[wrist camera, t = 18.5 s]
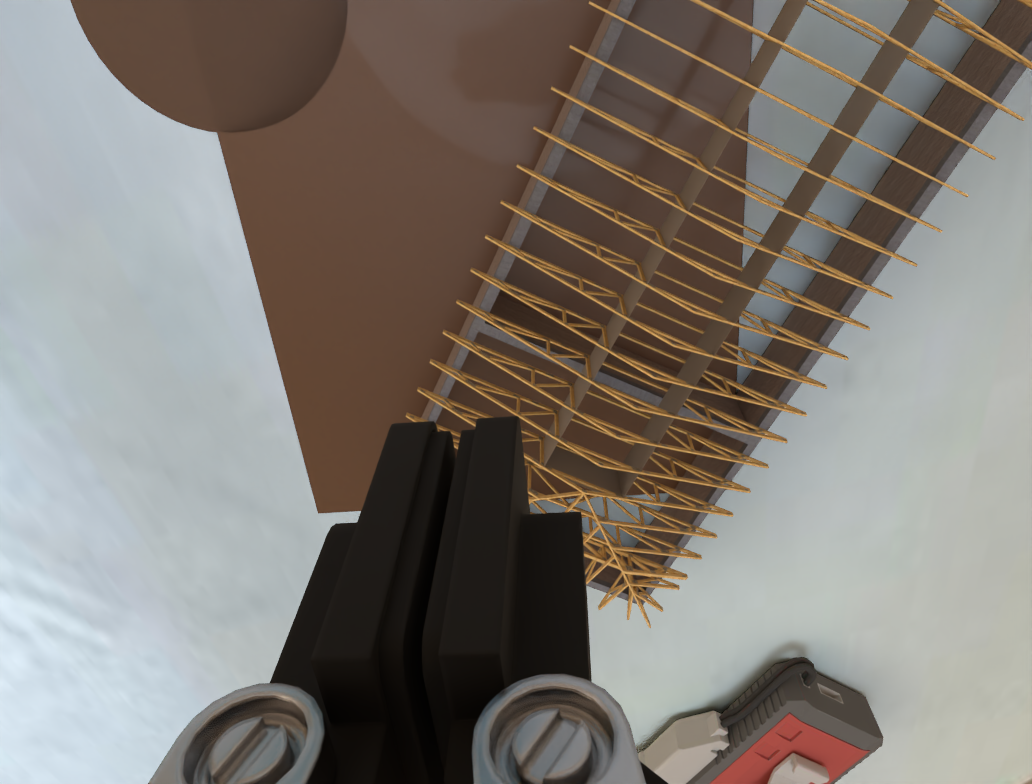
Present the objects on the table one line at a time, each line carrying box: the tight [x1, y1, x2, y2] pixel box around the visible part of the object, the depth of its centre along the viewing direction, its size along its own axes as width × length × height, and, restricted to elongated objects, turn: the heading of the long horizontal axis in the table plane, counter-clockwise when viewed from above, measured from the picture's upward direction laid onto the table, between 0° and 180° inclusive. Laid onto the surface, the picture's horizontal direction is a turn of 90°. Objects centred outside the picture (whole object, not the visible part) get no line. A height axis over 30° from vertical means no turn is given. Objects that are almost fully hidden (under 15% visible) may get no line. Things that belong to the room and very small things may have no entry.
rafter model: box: [406, 0, 1032, 628], centre depth 28 cm, size 35×14×6 cm, turn 156°
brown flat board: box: [71, 0, 753, 513], centre depth 31 cm, size 24×28×1 cm
